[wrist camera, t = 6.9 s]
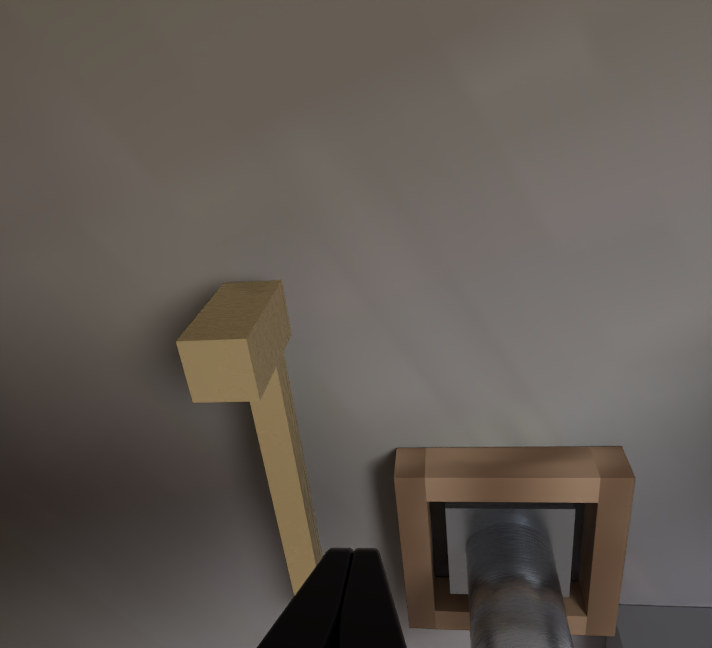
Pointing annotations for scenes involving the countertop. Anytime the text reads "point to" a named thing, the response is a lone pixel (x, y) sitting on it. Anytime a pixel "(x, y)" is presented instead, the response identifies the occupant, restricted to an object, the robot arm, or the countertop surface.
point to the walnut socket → (517, 484)
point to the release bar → (257, 399)
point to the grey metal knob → (512, 570)
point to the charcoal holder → (662, 627)
